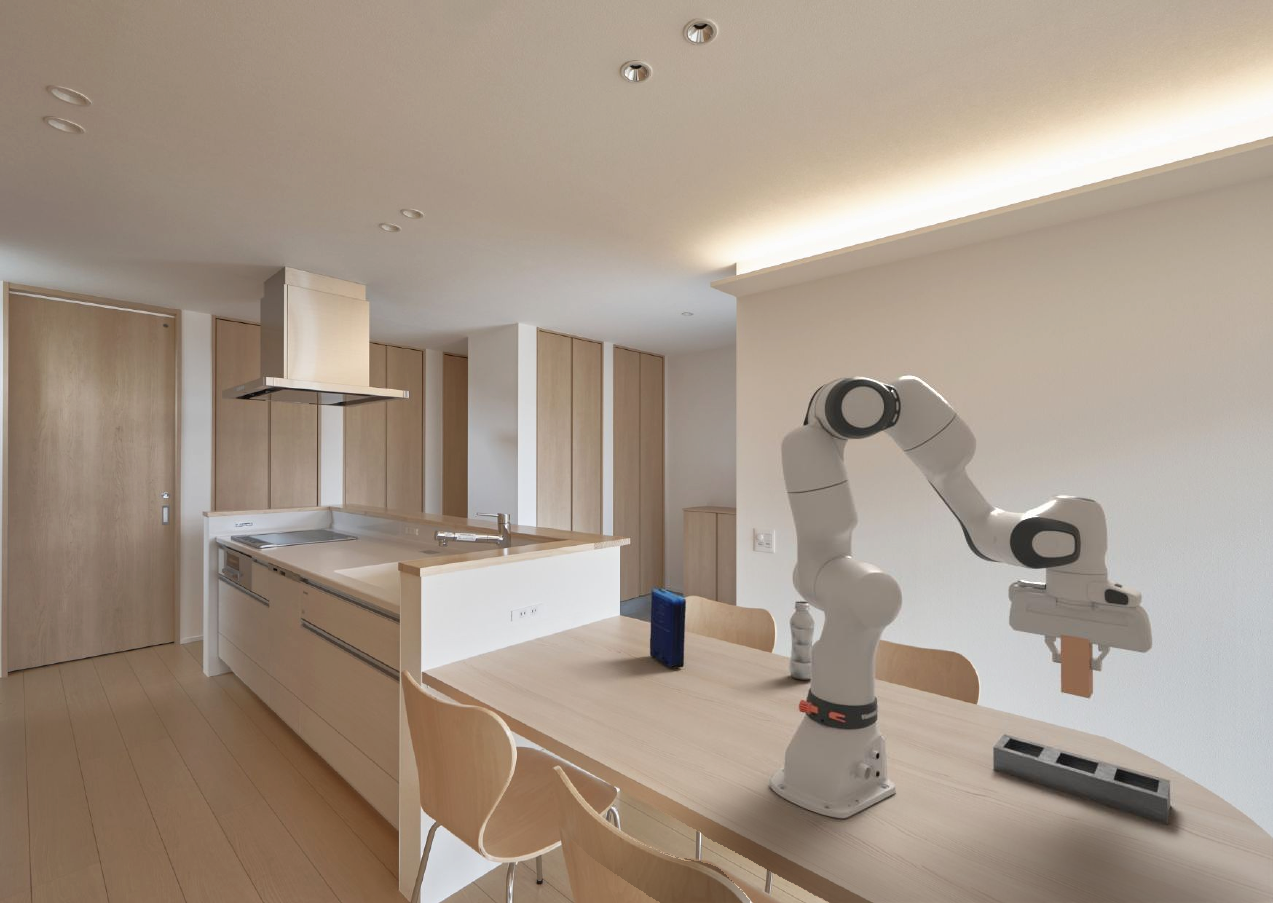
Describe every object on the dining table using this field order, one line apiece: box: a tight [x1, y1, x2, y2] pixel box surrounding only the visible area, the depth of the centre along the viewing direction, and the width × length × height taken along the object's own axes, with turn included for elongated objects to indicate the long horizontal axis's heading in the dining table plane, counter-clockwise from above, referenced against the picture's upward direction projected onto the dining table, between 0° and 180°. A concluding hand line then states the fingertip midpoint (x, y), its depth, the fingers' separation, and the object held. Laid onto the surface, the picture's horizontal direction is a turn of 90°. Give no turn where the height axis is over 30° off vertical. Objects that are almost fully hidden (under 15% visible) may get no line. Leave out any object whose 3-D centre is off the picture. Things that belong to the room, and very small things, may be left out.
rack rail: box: [992, 733, 1171, 826], centre depth 104 cm, size 8×24×4 cm, turn 46°
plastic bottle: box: [788, 600, 815, 681], centre depth 157 cm, size 6×7×20 cm
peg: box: [1060, 635, 1094, 699], centre depth 104 cm, size 4×4×10 cm
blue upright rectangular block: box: [649, 588, 687, 669], centre depth 168 cm, size 14×5×20 cm, turn 25°
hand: (1076, 665), depth 104 cm, fingers closed on peg, 4 cm apart
